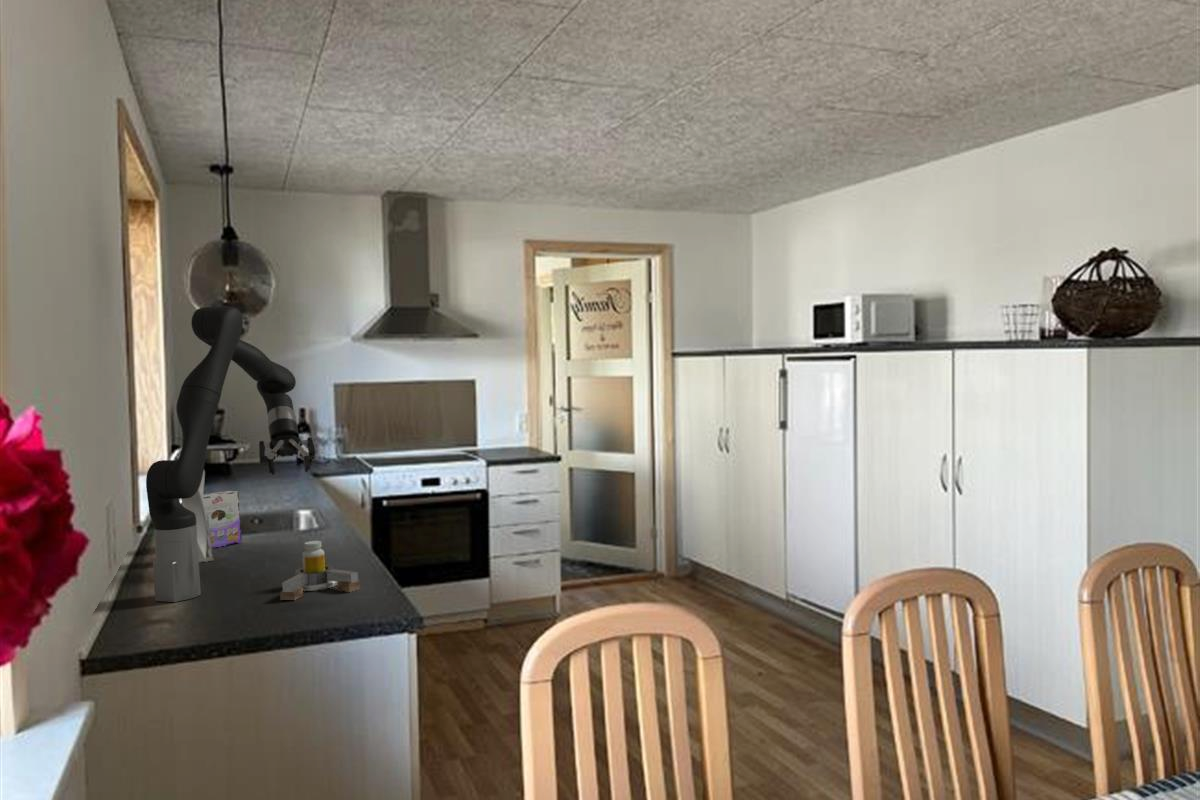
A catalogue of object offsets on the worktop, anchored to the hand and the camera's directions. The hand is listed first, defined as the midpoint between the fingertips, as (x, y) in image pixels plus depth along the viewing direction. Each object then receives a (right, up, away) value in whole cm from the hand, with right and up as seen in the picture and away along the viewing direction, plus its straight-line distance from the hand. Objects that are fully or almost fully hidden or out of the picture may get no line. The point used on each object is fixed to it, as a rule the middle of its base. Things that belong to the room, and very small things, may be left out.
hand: (290, 471), depth 235 cm
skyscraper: (-32, -27, +16) cm, 45 cm away
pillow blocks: (+16, -27, -25) cm, 40 cm away
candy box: (-36, -26, +36) cm, 57 cm away
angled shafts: (+16, -25, -25) cm, 39 cm away
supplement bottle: (+12, -26, -16) cm, 33 cm away
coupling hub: (+12, -27, -16) cm, 34 cm away
